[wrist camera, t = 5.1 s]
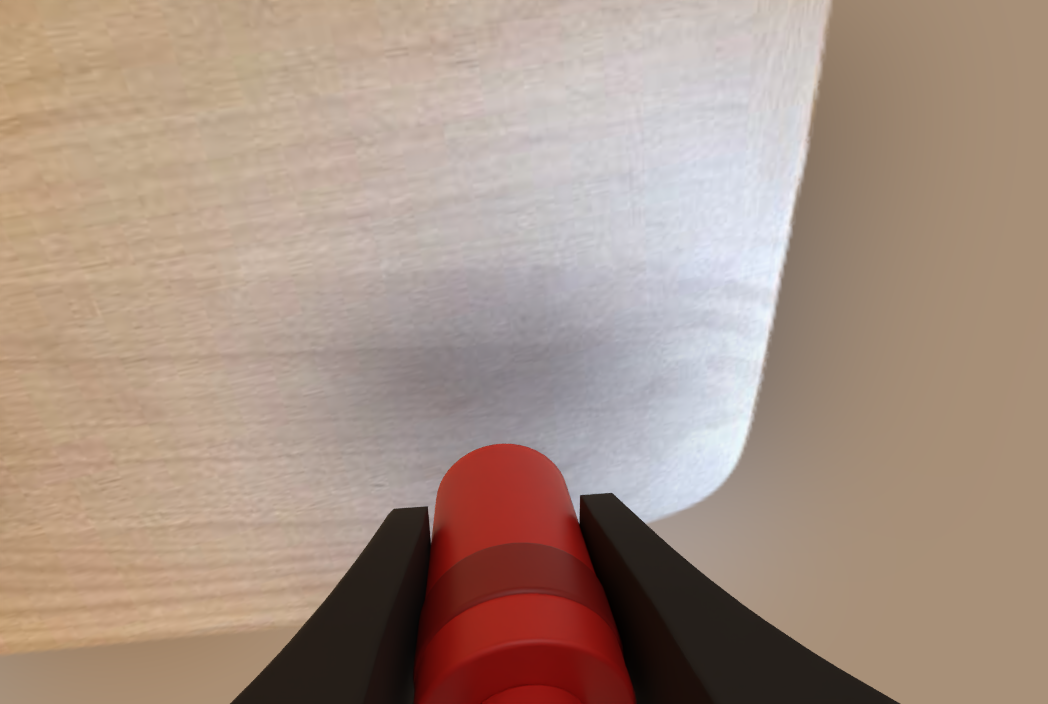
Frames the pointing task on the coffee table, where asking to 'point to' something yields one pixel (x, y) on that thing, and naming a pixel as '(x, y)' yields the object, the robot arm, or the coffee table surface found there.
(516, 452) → the red bottle
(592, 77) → the coffee table surface
